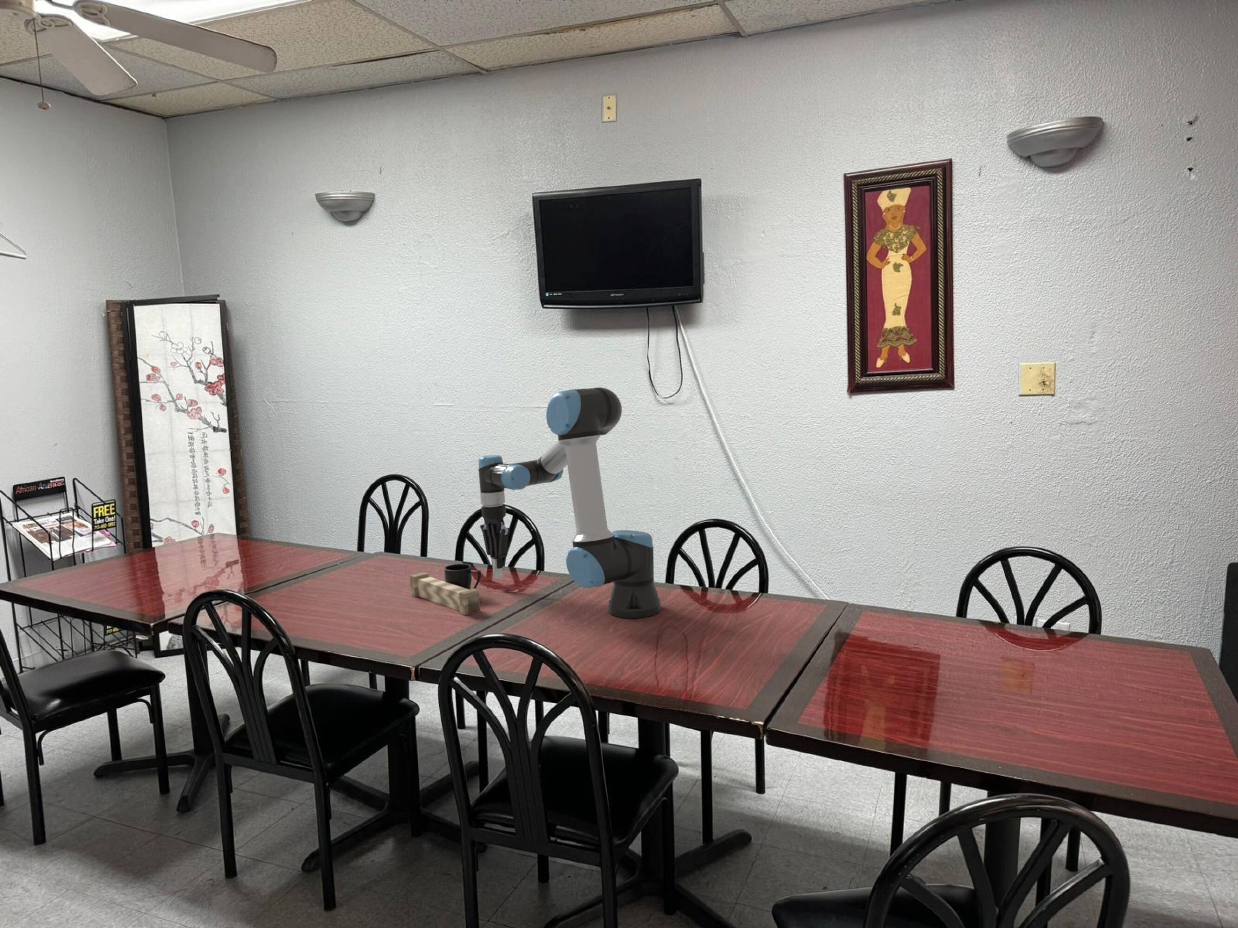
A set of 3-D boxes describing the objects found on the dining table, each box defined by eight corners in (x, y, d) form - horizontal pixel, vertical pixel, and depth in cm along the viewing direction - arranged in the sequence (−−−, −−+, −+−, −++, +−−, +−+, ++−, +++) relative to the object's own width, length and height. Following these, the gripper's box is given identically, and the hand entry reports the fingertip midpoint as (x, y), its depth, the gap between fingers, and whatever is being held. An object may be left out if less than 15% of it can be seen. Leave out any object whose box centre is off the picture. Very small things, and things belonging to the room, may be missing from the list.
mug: (474, 603, 267) (472, 572, 265) (440, 599, 271) (438, 569, 270) (488, 595, 274) (486, 565, 273) (455, 592, 279) (454, 562, 277)
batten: (480, 611, 259) (478, 589, 258) (465, 615, 255) (463, 593, 254) (425, 591, 280) (424, 572, 279) (411, 595, 277) (409, 575, 276)
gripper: (515, 504, 275) (520, 578, 278) (490, 500, 284) (495, 572, 287) (495, 508, 270) (500, 583, 273) (471, 504, 279) (476, 577, 282)
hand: (498, 577), depth 280 cm, fingers closed
